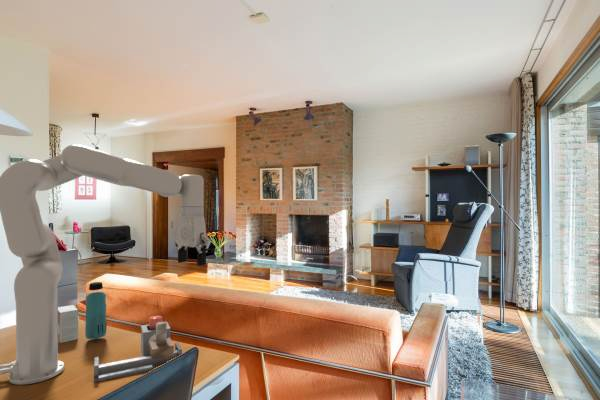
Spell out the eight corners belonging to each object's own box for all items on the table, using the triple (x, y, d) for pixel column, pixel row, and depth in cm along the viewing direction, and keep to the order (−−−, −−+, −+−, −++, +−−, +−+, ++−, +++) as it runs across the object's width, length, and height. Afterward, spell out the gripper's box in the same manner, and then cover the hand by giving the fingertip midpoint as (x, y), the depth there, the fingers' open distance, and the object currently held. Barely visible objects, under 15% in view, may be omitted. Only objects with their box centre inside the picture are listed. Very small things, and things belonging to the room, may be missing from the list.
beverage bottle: (97, 344, 121) (97, 285, 121) (80, 342, 122) (80, 284, 122) (110, 337, 127) (111, 281, 127) (94, 335, 129) (95, 280, 128)
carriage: (152, 359, 103) (152, 328, 103) (149, 350, 109) (149, 321, 109) (173, 355, 106) (173, 325, 106) (169, 347, 112) (169, 318, 112)
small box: (55, 336, 127) (55, 307, 127) (73, 332, 131) (73, 304, 131) (59, 343, 122) (59, 312, 122) (78, 339, 125) (78, 309, 125)
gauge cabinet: (143, 359, 110) (143, 333, 110) (140, 350, 117) (141, 325, 117) (170, 353, 114) (170, 328, 114) (166, 345, 120) (166, 321, 120)
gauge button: (149, 329, 113) (149, 320, 113) (148, 326, 116) (148, 316, 116) (163, 327, 115) (163, 318, 115) (161, 324, 118) (161, 314, 118)
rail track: (94, 382, 96) (94, 367, 96) (94, 370, 103) (94, 356, 103) (182, 363, 107) (182, 350, 107) (177, 353, 114) (177, 341, 114)
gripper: (165, 211, 120) (165, 262, 120) (200, 213, 111) (200, 268, 111) (184, 211, 127) (184, 259, 127) (218, 212, 117) (218, 264, 117)
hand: (191, 263), depth 119 cm, fingers open, 9 cm apart
